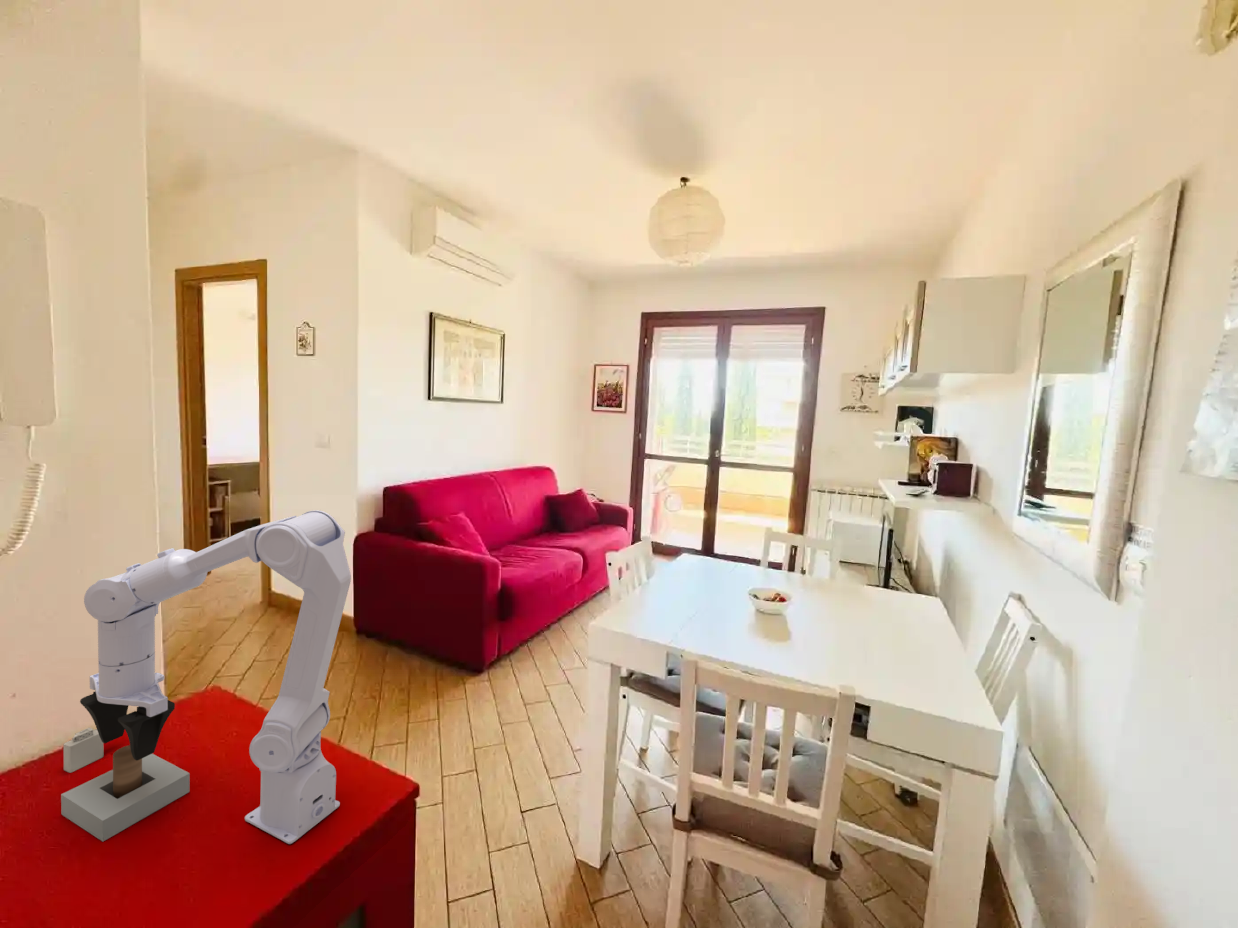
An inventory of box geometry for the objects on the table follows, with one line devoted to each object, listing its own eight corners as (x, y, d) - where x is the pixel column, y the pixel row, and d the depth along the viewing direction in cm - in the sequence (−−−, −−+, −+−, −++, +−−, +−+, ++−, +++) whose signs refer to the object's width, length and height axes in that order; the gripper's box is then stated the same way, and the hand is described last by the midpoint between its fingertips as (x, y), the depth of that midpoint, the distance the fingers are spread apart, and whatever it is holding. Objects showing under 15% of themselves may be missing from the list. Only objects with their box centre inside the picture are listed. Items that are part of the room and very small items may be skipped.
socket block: (189, 791, 77) (189, 773, 76) (102, 841, 67) (102, 820, 67) (149, 769, 80) (149, 751, 80) (61, 814, 71) (61, 794, 70)
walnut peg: (146, 799, 74) (146, 748, 74) (120, 813, 72) (120, 760, 71) (134, 792, 76) (134, 741, 75) (108, 806, 73) (108, 753, 72)
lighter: (70, 772, 78) (69, 723, 77) (63, 769, 79) (62, 720, 78) (126, 745, 85) (126, 699, 84) (119, 742, 85) (119, 697, 85)
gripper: (192, 657, 73) (192, 746, 74) (132, 633, 78) (132, 717, 79) (130, 679, 66) (131, 777, 67) (69, 652, 71) (71, 743, 72)
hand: (128, 747), depth 73 cm, fingers open, 7 cm apart
